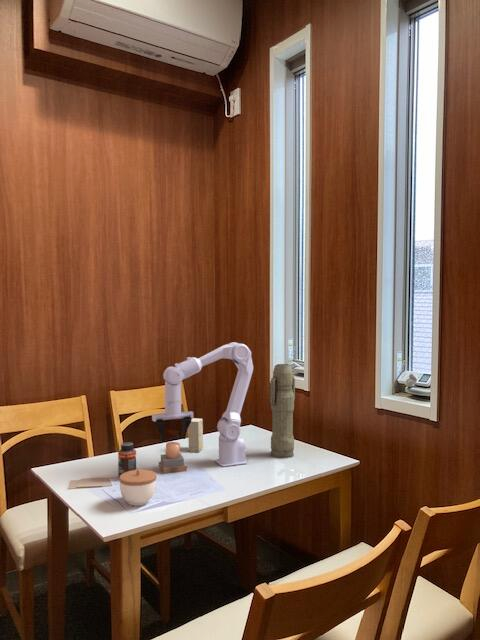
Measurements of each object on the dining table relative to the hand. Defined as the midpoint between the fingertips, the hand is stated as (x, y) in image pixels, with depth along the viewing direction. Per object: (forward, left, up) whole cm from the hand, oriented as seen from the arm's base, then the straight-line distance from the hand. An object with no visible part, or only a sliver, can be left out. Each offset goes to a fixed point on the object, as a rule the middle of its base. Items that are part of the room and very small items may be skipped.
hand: (173, 439), depth 175 cm
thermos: (-43, 0, -11) cm, 45 cm away
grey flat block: (0, 0, -9) cm, 9 cm away
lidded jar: (+18, +24, -11) cm, 32 cm away
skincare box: (-14, -19, -11) cm, 26 cm away
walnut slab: (0, 0, -11) cm, 11 cm away
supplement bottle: (+17, +2, -11) cm, 20 cm away
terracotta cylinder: (0, 0, -6) cm, 6 cm away
